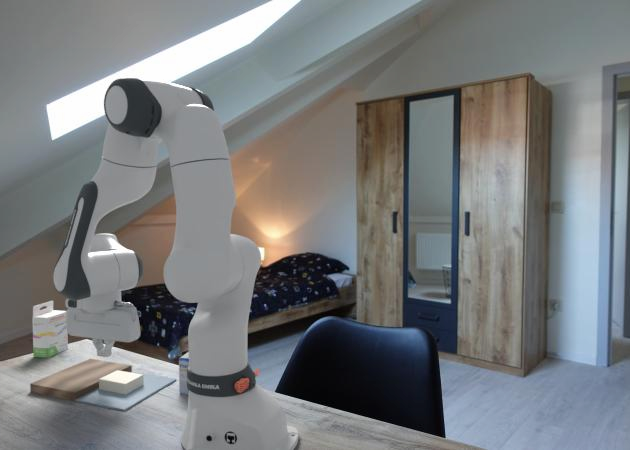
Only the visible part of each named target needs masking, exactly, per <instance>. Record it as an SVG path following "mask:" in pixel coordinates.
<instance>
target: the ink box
mask: <svg viewBox="0 0 630 450" xmlns="http://www.w3.org/2000/svg"><path fill="white" fill-rule="evenodd" d="M43 307H46V308H43ZM42 308H43V309H42ZM66 311H67V310H60V309H59V310H57V309H55V310H54V300H49V301H47V302H42V303H38V304H37V305H32V319H31V320H32V345H33V346H32V348H33V349H32V351H33V357H35V358H42V359H43V358H51V357H52V356H55V355H57V354H59V353H62V352H64V351H66V350H68V349H69V341H68V340H69V339H68V337H69V333H68V332H67V328H66Z"/></svg>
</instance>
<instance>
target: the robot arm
mask: <svg viewBox="0 0 630 450" xmlns="http://www.w3.org/2000/svg"><path fill="white" fill-rule="evenodd" d="M103 109H104V114H105V116H106V119H107V121H108V125H107V127H106V132H105V135H104V136H105V137H104V141H103V146H102V147H103V148H102V154H101V161H100V165H99V167H98V169H97V171H96V173H95V174H94V176H93V177H92V179H90V180H89V181H88V182H86V183H84V184H83V186H82V187H81V189H80V190H79V193H78V195H77V199H76V202H75V204H74V208H73V211H72V214H71V217H70V218H71V219H70V222H69V226H68V229H67V232H66V236H65V240H64V242H63V243H64V244H63V247H62V249H61V252H60V254H59V256H58V258H57V260H56V263H55V266H54V270H53V275H52V278H53V279H52V281H53V286H54V288H55V290H56V293H58V294H59V295H61V296H62V297H64V298H66V299H65V308H67V309H66V310H65V311H66V328H67V332H68V336H73V337H79V338H88V339H91V341H92V344H93V346H94V347H95V350H96V355H97V357H103V358H109V357H111V356H112V352H113V351H112V349H113V346H114V345H115V343H116V342H123V343H131V342H135V341H137V340H139V338H140V337H141V325H140V320H139V314H138V310H137V307H135V305H134V304H133V303H132V302H130V301H127V302H125V301H122V291H127V290H130V289H134V288H136V287H138V285H139V284H140V282H141V281H142V278H143V276H144V263H143V259H142V257H141V256H140V255H139V254H138V253H137V252H136V251H135V250H133V249H128V248H127V247H125V246H123V245H122V244H121V243H120V242H119V241H118V240H119V239H118V238H117V236H116V235H115V234H113V233H111V232H110V233H109V232H108V233H107V232H104V233H96V229H97V226H98V223H99V222H100V221H101V220H102V218H104V217H105V216H106V215H107V214H109V213H111V212H113V211H115V210H117V209H118V208H121V207H124V206H127V205H129V204H132V203H134V202H136V201H138V200H141V199H142V198H143V197H144V196H146V195H147V194H149V192H150V191H151V190H152V187H153V185H154V182H155V180H156V175H157V169H158V167H157V166H158V160H159V151H160V145H161V143H162V142H163V141H164V142H165V145H166V147H167V150H168V151H167V152H168V159H169V166H170V173H171V180H172V186H173V192H174V199H175V207H176V210H175V211H176V212H175V213H176V216H175V217H176V220H175V232H174V238H173V243H172V249H171V251H170V254H169V255H168V257H167V259H166V261H165V263H164V266H163V271H162V272H163V281H164V283H165V287H166V288H167V290H168V291H169V293H170V294H171V296H173V297H174V298H175V299H177V300H178V301H180V302H183V303H187V304H190V303H191V304H192V303H193V304H194V303H197V305H196V306H197V307H196V309H195V312H194V315H193V317H192V319H191V320H190V323H189V325H188V331H187V332H188V333H187V334H188V336H187V337H188V338H187V339H188V352H189V366H188V367H187V388H188V392H189V394H188V396H187V397H188V399H187V409H186V418H185V423H184V429H183V431H182V432H183V433H182V435H181V438H180V440H181V441H180V443H181V445H182V447H183V449H184V450H294V449H296V447H297V445H298V443H299V430H298V428H296V427H294V426H291V425H288V422H287V415H286V411H285V408H284V407H283V405H282V404H281V403H280V402H279V401H278V400H276V399H275V398H274V397H273V396H271V395H270V394H269V393H268V392H267V391H266V390H264V389H263V387H261V386H260V385H259V384H258V383H257V379H256V378H257V377H258V376H259V375H260V374H261V373H260V370H261V369H260V368H257V369H256V370H254V371H253V369H252V367H251V365H250V363H249V361H248V328H249V327H248V326H249V316H250V311H251V305H252V299H253V295H254V289H255V282H256V278H257V275H258V272H259V270H260V268H261V264H262V255H261V251H260V248H259V246H258V245H257V244H256V243H255V242H254V241H253V240H251V238H248V237H246V236H243V235H239V234H235V233H232V232H231V230H232V219H233V212H234V208H235V206H236V204H237V196H236V195H237V194H236V189H235V181H234V178H233V177H234V176H233V170H232V165H231V158H230V153H229V147H228V144H227V140H226V136H225V133H224V131H223V125H222V124H221V121H220V119H219V116H218V115H217V114H218V113H216V112H215V108H214V105H213V102H212V100H211V99H210V97H209V96H208V94H206V93H204V92H203V91H202V90H199V89H197V88H194V87H191V86H183V85H180V84H176V83H171V82H169V81H165V80H159V79H151V78H150V79H149V78H145V79H144V78H139V77H135V76H132V77H131V76H129V77H121V78H117V79H115V80H113V81H111V83H110V84H109V86H108V87H107V90H106V91H105V94H104V99H103ZM104 344H105V345H104Z"/></svg>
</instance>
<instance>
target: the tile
mask: <svg viewBox="0 0 630 450" xmlns="http://www.w3.org/2000/svg"><path fill="white" fill-rule="evenodd" d="M142 385H144V379H143V374H137V373H131V372H125V371H119V370H117V371H115V372H113V373H111V374H108V375H106V376H104V377H102V378H100V379H99V389H100V390H105V391H111V392H116V393H121V394H128V393H129V392H131V391H133V390H135V389H137V388H138V387H140V386H142Z"/></svg>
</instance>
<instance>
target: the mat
mask: <svg viewBox="0 0 630 450" xmlns="http://www.w3.org/2000/svg"><path fill="white" fill-rule="evenodd" d="M131 373H137V374H143V379H144V385H142V386H140V387H138V388H137V389H135V390H133V391H131V392H129V393H128V394H121V393H116V392H111V391H105V390H100V389H99V388H97V389H95V390H93V391H91V392H89V393H87V394H85V395H83V396H81V397H79V398H77V399H75V401H74V402H77V403H78V402H79V403H82V404H87V405H91V406H93V405H94V406H98V407H101V408H107V409H111V410H115V411H122V412H126V411H127V410H129V409H131V408H132V407H134V406H136V405H138V404H140V403H141V402H142V401H145V400H146V399H148V398H149V397H151V396H153V395H154V394H156V393H157V392H159V391H161V390H163V389H164V388H167V387H168V386H170V385H171V384H173V383H174V382H176V381H177V378H173V377H169V376H168V377H167V376H162V375H161V376H160V375H155V374H150V373H144V372H143V373H142V372H137V371H133V370H132V371H131Z"/></svg>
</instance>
